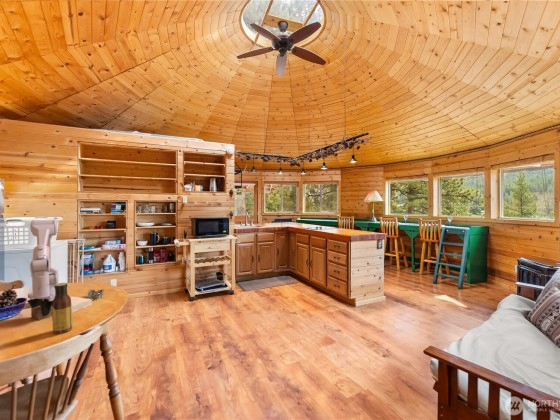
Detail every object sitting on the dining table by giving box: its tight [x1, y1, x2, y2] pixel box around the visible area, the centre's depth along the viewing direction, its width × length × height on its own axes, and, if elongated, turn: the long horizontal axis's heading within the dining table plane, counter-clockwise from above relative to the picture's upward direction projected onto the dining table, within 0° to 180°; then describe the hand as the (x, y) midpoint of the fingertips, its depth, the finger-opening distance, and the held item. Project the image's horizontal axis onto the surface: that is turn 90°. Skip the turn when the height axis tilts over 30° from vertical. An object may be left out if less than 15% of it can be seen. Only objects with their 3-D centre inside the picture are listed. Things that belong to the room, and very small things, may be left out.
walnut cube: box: [30, 306, 52, 321], centre depth 120 cm, size 5×5×5 cm
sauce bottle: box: [51, 282, 73, 335], centre depth 107 cm, size 7×6×20 cm
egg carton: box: [86, 288, 105, 300], centre depth 146 cm, size 11×8×4 cm
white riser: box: [51, 296, 93, 314], centre depth 131 cm, size 14×12×3 cm
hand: (41, 314), depth 120 cm, fingers closed on walnut cube, 5 cm apart
